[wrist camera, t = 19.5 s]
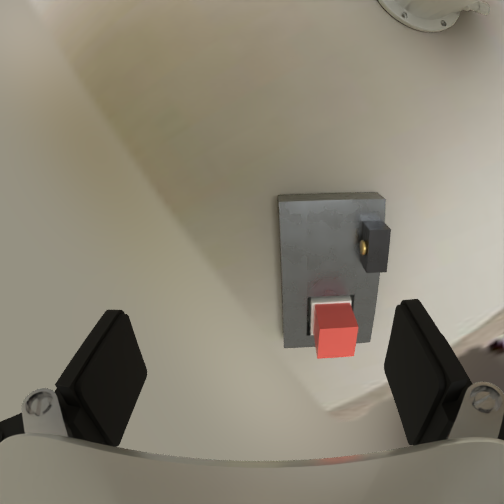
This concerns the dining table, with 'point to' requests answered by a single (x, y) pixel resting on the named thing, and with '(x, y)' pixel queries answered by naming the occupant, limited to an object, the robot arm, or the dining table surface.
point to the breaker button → (324, 301)
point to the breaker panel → (331, 257)
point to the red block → (335, 330)
